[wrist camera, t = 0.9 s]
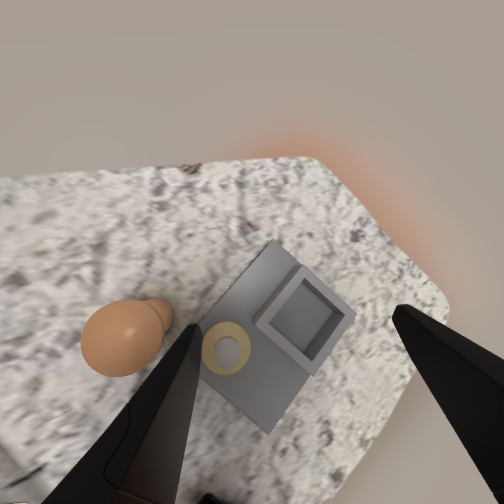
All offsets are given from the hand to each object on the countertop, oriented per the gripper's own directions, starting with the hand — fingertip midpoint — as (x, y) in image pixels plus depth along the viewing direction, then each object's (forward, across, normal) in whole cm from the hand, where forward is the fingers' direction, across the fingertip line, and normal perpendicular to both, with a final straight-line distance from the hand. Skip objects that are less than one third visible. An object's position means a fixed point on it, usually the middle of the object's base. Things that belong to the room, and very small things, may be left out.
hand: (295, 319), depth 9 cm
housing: (+8, +1, +12) cm, 15 cm away
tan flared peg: (+8, +13, +8) cm, 18 cm away
